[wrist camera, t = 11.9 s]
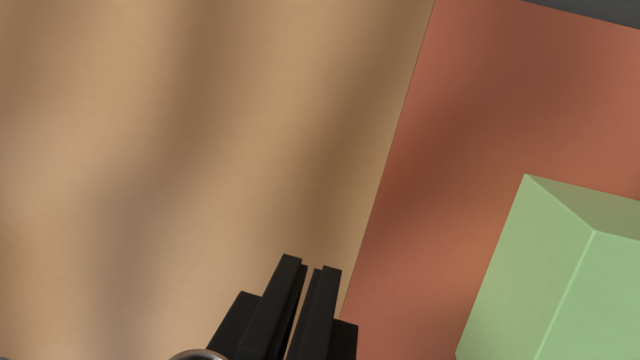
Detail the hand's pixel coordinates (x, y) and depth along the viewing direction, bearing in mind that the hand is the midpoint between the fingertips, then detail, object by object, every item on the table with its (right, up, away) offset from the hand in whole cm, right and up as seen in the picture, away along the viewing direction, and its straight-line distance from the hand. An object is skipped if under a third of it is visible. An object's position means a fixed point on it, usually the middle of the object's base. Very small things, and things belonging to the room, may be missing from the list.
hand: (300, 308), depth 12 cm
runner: (+2, +1, +3) cm, 4 cm away
